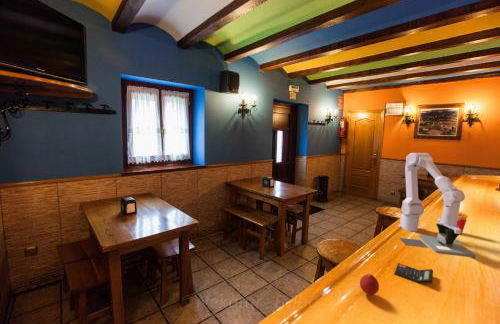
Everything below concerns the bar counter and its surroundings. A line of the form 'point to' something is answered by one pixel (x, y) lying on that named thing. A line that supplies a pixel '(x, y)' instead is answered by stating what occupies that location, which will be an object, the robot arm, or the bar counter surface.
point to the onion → (369, 284)
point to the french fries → (461, 221)
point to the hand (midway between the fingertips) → (445, 241)
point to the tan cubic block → (443, 239)
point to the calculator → (414, 274)
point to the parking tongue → (413, 242)
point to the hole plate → (446, 247)
